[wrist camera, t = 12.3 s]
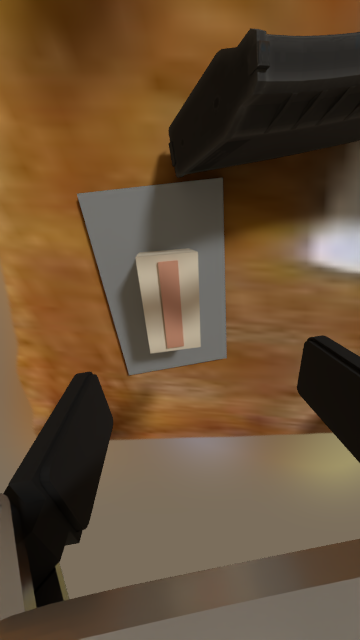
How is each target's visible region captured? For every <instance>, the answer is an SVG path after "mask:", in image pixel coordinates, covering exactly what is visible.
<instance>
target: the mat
mask: <svg viewBox="0 0 360 640" xmlns="http://www.w3.org/2000/svg"><path fill="white" fill-rule="evenodd" d="M77 196H78V199H79V203H80V206H81V210H82V213H83V217H84V220H85V224H86V227H87V230H88V234H89V237H90V241H91V244H92V248H93V251H94V255H95V258H96V262H97V265H98V269H99V272H100V276H101V279H102V282H103V286H104V289H105V293H106V296H107V300H108V303H109V307H110V310H111V314H112V317H113V321H114V324H115V327H116V331H117V334H118V338H119V341H120V345H121V348H122V352H123V355H124V359H125V362H126V366H127V369H128V373H129V375H133V374H139V373H144V372H150V371H156V370H161V369H167V368H173V367H178V366H184V365H189V364H195V363H201V362H206V361H212V360H217V359H223V358H227V356H226V307H225V257H224V207H223V178H214V179H205V180H196V181H187V182H178V183H169V184H160V185H151V186H142V187H133V188H124V189H116V190H107V191H98V192H89V193H80V194H77ZM187 248H189V249H192V250H194V251H197V252H198V271H199V305H200V339H201V347H197V348H189V349H181V350H174V351H166V352H158V353H151V354H150V347H149V341H148V335H147V328H146V322H145V316H144V309H143V303H142V297H141V290H140V284H139V278H138V271H137V265H136V259H135V257H136V256H137V254H138V253H139V252H151V251H163V250H175V249H187Z"/></svg>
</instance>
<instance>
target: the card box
mask: <svg viewBox="0 0 360 640" xmlns="http://www.w3.org/2000/svg"><path fill="white" fill-rule="evenodd" d="M135 259H136V265H137V271H138V278H139V284H140V290H141V297H142V303H143V309H144V316H145V322H146V328H147V335H148V341H149V347H150V354H151V353H158V352H166V351H174V350H181V349H189V348H197V347H201V339H200V305H199V271H198V252H197V251H194V250H192V249H189V248H187V249H175V250H163V251H151V252H139V253H138V254H137V256H136V257H135Z"/></svg>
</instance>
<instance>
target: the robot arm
mask: <svg viewBox="0 0 360 640" xmlns="http://www.w3.org/2000/svg"><path fill="white" fill-rule="evenodd" d="M297 390H298V393H299V394H300V396H301V397H302V398H303V399H304V400H305V401H306V402H307V404H308V405H309V406H310V407H311V408H312V409H313V410H314V412H315V413H316V414H317V415H318V416H319V417H320V418H321V419H322V421H323V422H324V423H325V424H326V425H327V426H328V427H329V429H330V430H331V431H332V432H333V433H334V434H335V435H336V436H337V438H338V439H339V440H340V441H341V442H342V443H343V444H344V446H345V447H346V448H347V449H348V450H349V451H350V452H351V453H352V455H353V456H354V457H355V458H356V459H357V460H358V461H359V462H360V357H359V356H358V355H356V354H354V353H353V352H351V351H349V350H348V349H346V348H344V347H343V346H341V345H340V344H338V343H336V342H335V341H333V340H331V339H330V338H328V337H326V336H316V337H310V338H308V340H307V341H306V342H305V343H304V348H303V354H302V360H301V366H300V372H299V378H298V384H297ZM112 428H113V417H112V414H111V412H110V409H109V406H108V404H107V401H106V398H105V396H104V393H103V390H102V388H101V385H100V382H99V379H98V377H97V375H95V374H94V375H93V373H92V372H85V373H79V374H76V375H75V376H74V378H73V379H72V381H71V382H70V384H69V386H68V387H67V389H66V391H65V392H64V394H63V396H62V397H61V399H60V400H59V402H58V404H57V405H56V407H55V409H54V410H53V412H52V414H51V415H50V417H49V418H48V420H47V422H46V423H45V425H44V427H43V428H42V430H41V432H40V433H39V435H38V437H37V438H36V440H35V441H34V443H33V445H32V446H31V448H30V450H29V451H28V453H27V455H26V456H25V458H24V459H23V461H22V463H21V465H20V466H19V468H18V469H17V471H16V473H15V474H14V476H13V478H12V479H11V481H10V483H9V485H8V487H7V488H6V490H5V492H4V493H3V494H2V493H0V640H360V539H357V540H352V541H346V542H341V543H336V544H331V545H326V546H321V547H317V548H311V549H307V550H301V551H297V552H292V553H287V554H282V555H277V556H272V557H268V558H262V559H257V560H252V561H247V562H242V563H237V564H232V565H227V566H223V567H217V568H213V569H208V570H203V571H198V572H193V573H189V574H184V575H179V576H175V577H170V578H165V579H160V580H155V581H150V582H145V583H140V584H135V585H131V586H126V587H122V588H117V589H112V590H108V591H104V592H100V593H96V594H91V595H87V596H82V597H78V598H74V599H69V596H68V592H67V589H66V585H65V581H64V577H63V574H62V570H61V567H60V563H59V562H60V559H61V556H62V553H63V550H64V546H65V545H71V544H76V543H79V541H80V538H81V534H82V530H84V529H86V528H87V525H88V524H89V520H90V516H91V513H92V508H93V504H94V500H95V496H96V492H97V488H98V484H99V480H100V476H101V472H102V468H103V464H104V460H105V456H106V452H107V448H108V444H109V440H110V436H111V432H112Z"/></svg>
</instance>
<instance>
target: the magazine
mask: <svg viewBox="0 0 360 640" xmlns="http://www.w3.org/2000/svg"><path fill="white" fill-rule="evenodd" d="M169 137H170V143H169V148H170V154H171V160H172V165H173V166H175V172H176V176H177V177H183V176H184V175H185V174H191V173H196V172H202V171H207V170H213V169H218V168H224V167H230V166H235V165H241V164H246V163H252V162H258V161H263V160H268V159H273V158H278V157H283V156H289V155H294V154H299V153H303V152H308V151H313V150H318V149H322V148H327V147H331V146H336V145H341V144H345V143H349V142H354V141H358V140H360V32H357V33H347V34H337V35H320V36H286V35H269V34H266V31H263V30H260V29H251V28H250V30H249V31H248V33H247V34H246V35H245V37H244V38H243V39H242V41H241V42H240V44H239V45H238V46H237V47H235V48H227V49H221V50H220V51H219V52H218V53H216V55H215V56H214V58H213V60H212V61H211V63H210V64H209V66H208V67H207V69H206V71H205V72H204V74H203V75H202V77H201V78H200V80H199V81H198V83H197V85H196V86H195V88H194V89H193V91H192V92H191V94H190V96H189V97H188V99H187V100H186V102H185V103H184V105H183V106H182V108H181V110H180V111H179V113H178V114H177V116H176V117H175V119H174V121H173V122H172V124H171V125H170V127H169Z"/></svg>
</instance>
